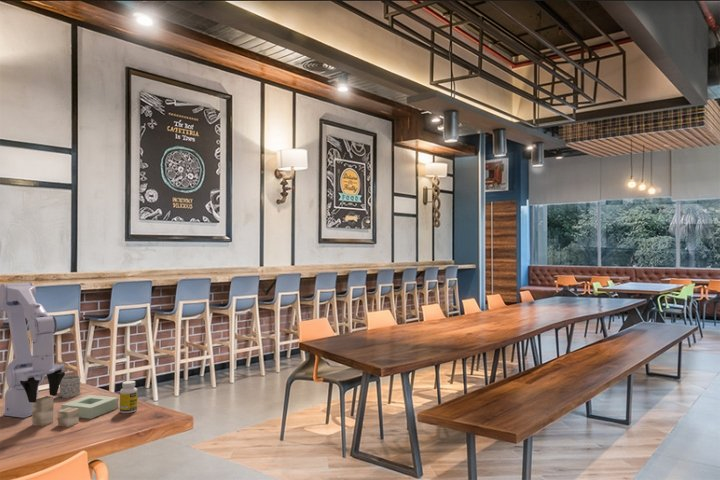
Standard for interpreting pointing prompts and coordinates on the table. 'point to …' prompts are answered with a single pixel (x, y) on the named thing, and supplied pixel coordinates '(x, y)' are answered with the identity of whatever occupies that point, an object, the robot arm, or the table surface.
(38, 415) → the tall beige block
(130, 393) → the supplement bottle
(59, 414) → the short pin
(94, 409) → the hole block
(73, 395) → the mug
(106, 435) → the table surface
